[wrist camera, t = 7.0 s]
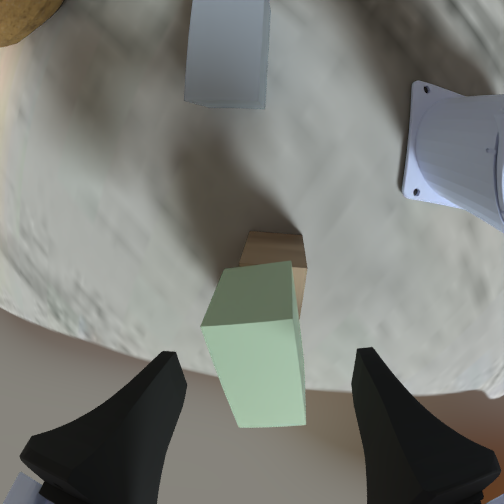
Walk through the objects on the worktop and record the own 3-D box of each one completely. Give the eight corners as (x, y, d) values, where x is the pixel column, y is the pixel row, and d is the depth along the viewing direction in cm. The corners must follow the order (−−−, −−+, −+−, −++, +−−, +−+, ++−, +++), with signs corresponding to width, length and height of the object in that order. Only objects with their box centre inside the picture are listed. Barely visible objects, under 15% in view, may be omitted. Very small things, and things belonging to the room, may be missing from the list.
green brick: (224, 268, 16) (200, 326, 11) (291, 260, 15) (292, 318, 10) (249, 364, 18) (238, 427, 14) (303, 360, 18) (305, 424, 13)
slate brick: (216, 12, 14) (195, -20, 10) (270, 11, 14) (265, -23, 9) (209, 107, 17) (184, 100, 12) (265, 109, 17) (258, 101, 12)
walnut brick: (249, 230, 20) (239, 262, 15) (302, 234, 20) (307, 268, 15) (245, 316, 23) (236, 360, 18) (291, 320, 22) (291, 365, 18)
